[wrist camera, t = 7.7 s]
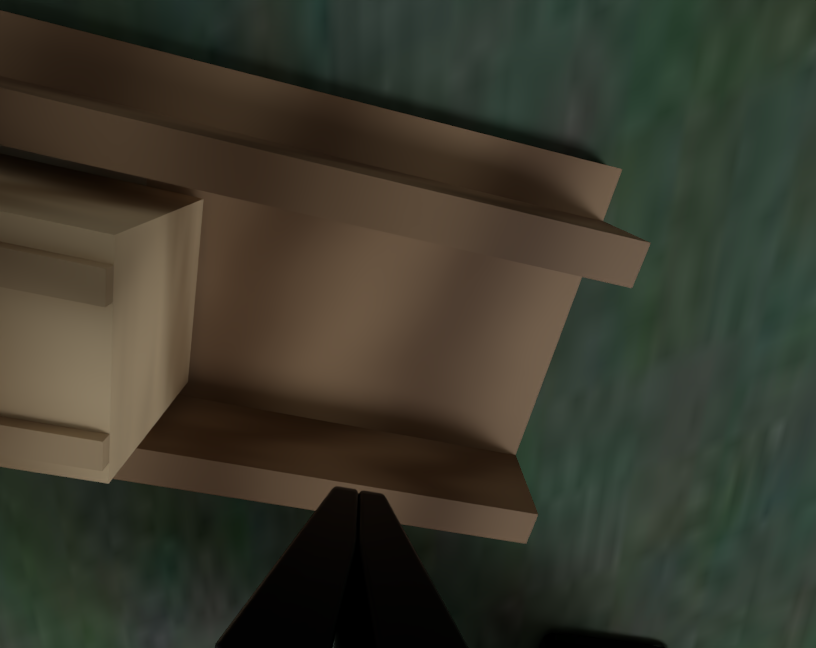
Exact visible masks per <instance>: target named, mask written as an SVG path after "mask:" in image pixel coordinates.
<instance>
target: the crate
mask: <svg viewBox="0 0 816 648" xmlns="http://www.w3.org/2000/svg"><path fill="white" fill-rule="evenodd" d="M203 200H204V199H202V198H197V197H193V196H188V195H184V194H179V193H175V192H170V191H166V190H162V189H157V188H153V187H148V186H144V185H139V184H135V183H130V182H126V181H121V180H117V179H113V178H108V177H104V176H99V175H95V174H90V173H86V172H81V171H77V170H72V169H68V168H64V167H59V166H55V165H50V164H46V163H41V162H37V161H32V160H28V159H23V158H19V157H15V156H10V155H6V154H1V153H0V467H5V468H11V469H18V470H24V471H31V472H37V473H43V474H50V475H56V476H63V477H69V478H76V479H82V480H88V481H95V482H101V483H108V484H109V483H110V481H111V480H112V479H113V477H114V476H115V475H116V474H117V472H118V471H119V470H120V468H121V467H122V466H123V465H124V463H125V462H126V461H127V459H128V458H129V457H130V456H131V454H132V453H133V452H134V450H135V449H136V448H137V447H138V445H139V444H140V443H141V441H142V440H143V439H144V438H145V436H146V435H147V434H148V432H149V431H150V430H151V429H152V427H153V426H154V425H155V423H156V422H157V421H158V420H159V418H160V417H161V416H162V414H163V413H164V412H165V411H166V409H167V408H168V407H169V405H170V404H171V403H172V402H173V400H174V399H175V398H176V396H177V395H178V394H179V393H180V391H181V390H182V389H183V387H184V386H185V385H186V384H187V382H188V375H189V363H190V352H191V340H192V328H193V317H194V305H195V293H196V282H197V270H198V258H199V247H200V235H201V224H202V212H203Z"/></svg>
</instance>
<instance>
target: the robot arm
mask: <svg viewBox="0 0 816 648" xmlns="http://www.w3.org/2000/svg"><path fill="white" fill-rule="evenodd" d="M334 638H335V643H334V648H468V646H467V644H466V642H465V641H464V639H463V637H462V635H461V633H460V631H459V630H458V628H457V626H456V624H455V622H454V621H453V619H452V617H451V615H450V613H449V611H448V610H447V608H446V606H445V604H444V602H443V600H442V599H441V597H440V595H439V593H438V591H437V589H436V588H435V586H434V584H433V582H432V580H431V579H430V577H429V575H428V573H427V571H426V569H425V568H424V566H423V564H422V562H421V560H420V558H419V557H418V555H417V553H416V551H415V549H414V547H413V546H412V544H411V542H410V540H409V538H408V537H407V535H406V533H405V531H404V529H403V527H402V526H401V524H400V522H399V520H398V518H397V516H396V515H395V513H394V511H393V509H392V507H391V506H390V504H389V502H388V500H387V498H386V497H385V495H384V494H382V493H377V492H371V491H365V490H362V491H360V493H358V491H357V490H356V489H352V488H346V487H340V486H335V487H334V488H332V489H331V491H330V492H329V493H328V495H327V496H326V497H325V499H324V500H323V501H322V503H321V504H320V505H319V507H318V508H317V509H316V511H315V512H314V513H313V515H312V516H311V517H310V519H309V520H308V521H307V523H306V524H305V525H304V527H303V528H302V529H301V531H300V532H299V533H298V535H297V536H296V537H295V539H294V540H293V541H292V543H291V544H290V545H289V547H288V548H287V549H286V551H285V552H284V553H283V555H282V556H281V557H280V559H279V560H278V561H277V563H276V564H275V565H274V567H273V568H272V569H271V571H270V572H269V573H268V575H267V576H266V577H265V579H264V580H263V581H262V583H261V584H260V585H259V587H258V588H257V589H256V591H255V592H254V593H253V595H252V596H251V597H250V599H249V600H248V601H247V603H246V604H245V605H244V607H243V608H242V609H241V611H240V612H239V613H238V615H237V616H236V617H235V619H234V620H233V621H232V623H231V624H230V625H229V627H228V628H227V629H226V631H225V632H224V633H223V635H222V636H221V637H220V639H219V640H218V641H217V643H216V645H215V648H332V646H333V642H334ZM539 648H664V647H657V646H649V645H642V644H635V643H627V642H620V641H613V640H605V639H598V638H591V637H583V636H576V635H569V634H561V633H551V634H548V635H546V636H545V637H544V638H543V640H542V642H541V644H540V646H539Z"/></svg>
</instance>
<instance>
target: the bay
mask: <svg viewBox="0 0 816 648" xmlns="http://www.w3.org/2000/svg"><path fill="white" fill-rule="evenodd" d="M0 153H1V154H6V155H10V156H15V157H19V158H23V159H28V160H32V161H37V162H41V163H46V164H50V165H55V166H59V167H64V168H68V169H72V170H77V171H81V172H86V173H90V174H95V175H99V176H104V177H108V178H113V179H117V180H121V181H126V182H130V183H135V184H139V185H144V186H148V187H153V188H157V189H162V190H166V191H170V192H175V193H179V194H184V195H188V196H193V197H197V198H202V199H204V200H203V212H202V224H201V235H200V247H199V258H198V270H197V282H196V293H195V305H194V317H193V328H192V340H191V352H190V363H189V375H188V382H187V384H186V385H185V386H184V387H183V389H182V390H181V391H180V393H179V394H178V395H177V396H176V398H175V399H174V400H173V402H172V403H171V404H170V405H169V407H168V408H167V409H166V411H165V412H164V413H163V414H162V416H161V417H160V418H159V420H158V421H157V422H156V423H155V425H154V426H153V427H152V429H151V430H150V431H149V432H148V434H147V435H146V436H145V438H144V439H143V440H142V441H141V443H140V444H139V445H138V447H137V448H136V449H135V450H134V452H133V453H132V454H131V456H130V457H129V458H128V459H127V461H126V462H125V463H124V465H123V466H122V467H121V468H120V470H119V471H118V472H117V474H116V475H115V476H114V477H113V479H117V480H124V481H130V482H136V483H143V484H149V485H155V486H162V487H168V488H174V489H181V490H187V491H194V492H200V493H206V494H213V495H219V496H225V497H232V498H238V499H244V500H251V501H257V502H264V503H270V504H276V505H283V506H289V507H295V508H302V509H308V510H314V511H316V509H317V508H318V507H319V505H320V504H321V503H322V501H323V500H324V499H325V497H326V496H327V495H328V493H329V492H330V491H331V489H332V488H334V487H335V486H340V487H346V488H352V489H356V490H357V491H358V493H360V491H362V490H365V491H371V492H377V493H382V494H384V495H385V497H386V498H387V500H388V502H389V504H390V506H391V507H392V509H393V511H394V513H395V515H396V516H397V518H398V520H399V522H400V524H403V525H410V526H416V527H423V528H429V529H435V530H442V531H448V532H454V533H461V534H467V535H473V536H480V537H486V538H492V539H499V540H505V541H512V542H518V543H524V544H526V543H527V540H528V538H529V536H530V533H531V531H532V528H533V526H534V524H535V521H536V519H537V516H538V513H537V510H536V507H535V505H534V502H533V500H532V497H531V494H530V492H529V489H528V487H527V484H526V481H525V479H524V476H523V473H522V471H521V468H520V466H519V463H518V460H517V458H516V452H517V450H518V447H519V444H520V442H521V439H522V436H523V434H524V431H525V428H526V426H527V423H528V420H529V418H530V415H531V412H532V409H533V407H534V404H535V401H536V399H537V396H538V393H539V391H540V388H541V385H542V383H543V380H544V377H545V375H546V372H547V369H548V367H549V364H550V361H551V359H552V356H553V353H554V351H555V348H556V345H557V343H558V340H559V337H560V334H561V332H562V329H563V326H564V324H565V321H566V318H567V316H568V313H569V310H570V308H571V305H572V302H573V300H574V297H575V294H576V292H577V289H578V286H579V284H580V281H581V278H582V277H585V278H589V279H594V280H598V281H603V282H607V283H611V284H616V285H620V286H625V287H629V288H632V287H633V285H634V282H635V280H636V277H637V275H638V273H639V270H640V268H641V265H642V263H643V260H644V258H645V256H646V253H647V251H648V248H649V246H650V244H651V243H650V242H647V241H645V240H643V239H641V238H639V237H636V236H634V235H632V234H630V233H628V232H625V231H623V230H621V229H619V228H617V227H614V226H612V225H610V224H608V223H606V222H603V219H604V217H605V214H606V211H607V209H608V206H609V203H610V201H611V198H612V195H613V193H614V190H615V187H616V185H617V182H618V179H619V176H620V174H621V171H622V169H619V168H615V167H611V166H607V165H603V164H599V163H596V162H592V161H588V160H584V159H580V158H576V157H572V156H568V155H564V154H560V153H556V152H553V151H549V150H545V149H541V148H537V147H533V146H529V145H525V144H521V143H517V142H513V141H510V140H506V139H502V138H498V137H494V136H490V135H486V134H482V133H478V132H474V131H470V130H467V129H463V128H459V127H455V126H451V125H447V124H443V123H439V122H435V121H431V120H427V119H424V118H420V117H416V116H412V115H408V114H404V113H400V112H396V111H392V110H388V109H384V108H381V107H377V106H373V105H369V104H365V103H361V102H357V101H353V100H349V99H345V98H341V97H338V96H334V95H330V94H326V93H322V92H318V91H314V90H310V89H306V88H302V87H298V86H295V85H291V84H287V83H283V82H279V81H275V80H271V79H267V78H263V77H259V76H255V75H252V74H248V73H244V72H240V71H236V70H232V69H228V68H224V67H220V66H216V65H212V64H209V63H205V62H201V61H197V60H193V59H189V58H185V57H181V56H177V55H173V54H169V53H166V52H162V51H158V50H154V49H150V48H146V47H142V46H138V45H134V44H130V43H126V42H123V41H119V40H115V39H111V38H107V37H103V36H99V35H95V34H91V33H87V32H83V31H80V30H76V29H72V28H68V27H64V26H60V25H56V24H52V23H48V22H44V21H40V20H37V19H33V18H29V17H25V16H21V15H17V14H13V13H9V12H5V11H1V10H0Z"/></svg>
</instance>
